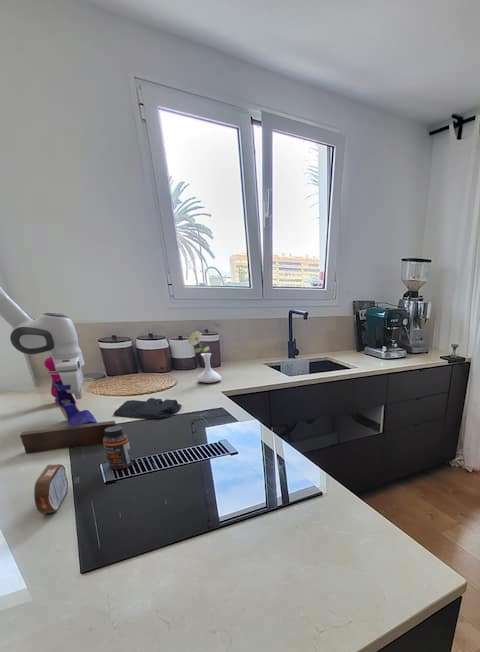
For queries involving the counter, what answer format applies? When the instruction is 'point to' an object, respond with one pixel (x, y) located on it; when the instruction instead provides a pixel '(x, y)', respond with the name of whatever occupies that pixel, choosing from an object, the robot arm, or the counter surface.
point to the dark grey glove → (148, 408)
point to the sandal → (71, 406)
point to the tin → (50, 488)
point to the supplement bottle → (117, 448)
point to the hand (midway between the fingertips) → (79, 398)
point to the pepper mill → (52, 373)
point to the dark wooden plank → (64, 436)
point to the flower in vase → (208, 373)
